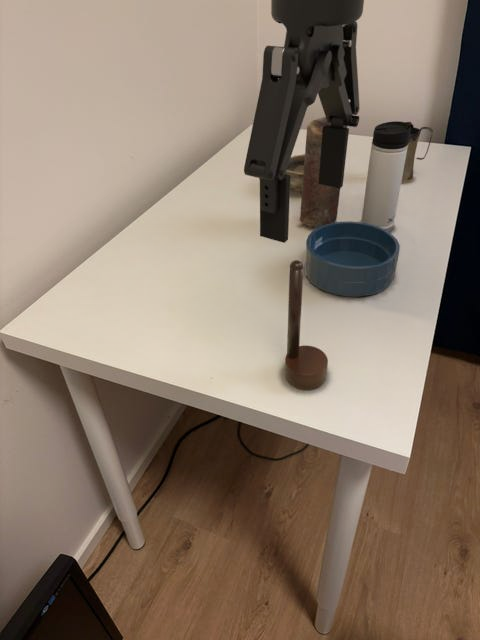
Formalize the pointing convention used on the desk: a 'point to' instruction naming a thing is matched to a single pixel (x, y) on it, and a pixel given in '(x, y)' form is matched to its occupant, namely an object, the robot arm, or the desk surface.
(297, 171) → the bowl
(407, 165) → the mug
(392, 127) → the travel mug
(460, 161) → the desk surface
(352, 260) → the mixing bowl
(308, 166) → the brown cylinder
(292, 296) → the ladle
